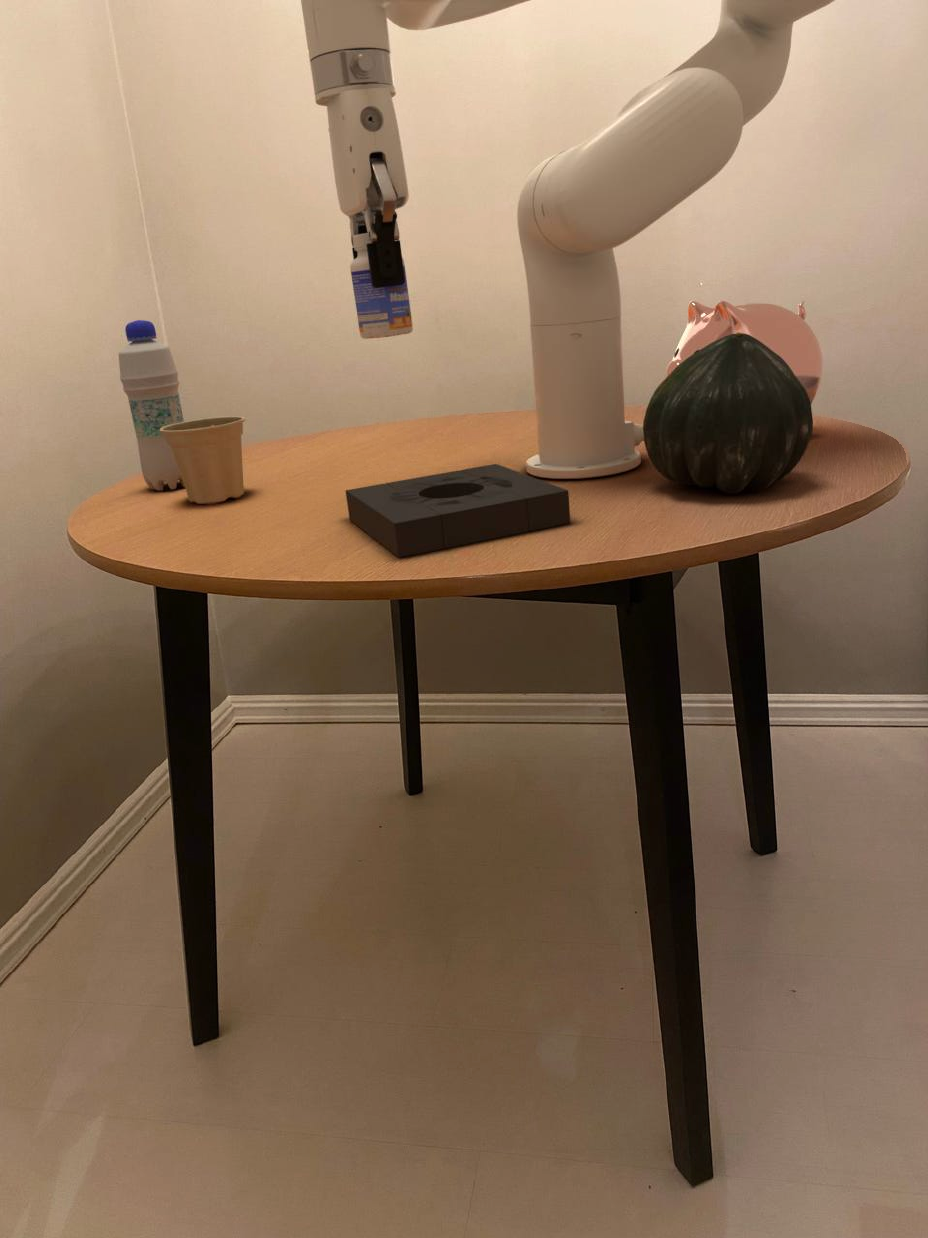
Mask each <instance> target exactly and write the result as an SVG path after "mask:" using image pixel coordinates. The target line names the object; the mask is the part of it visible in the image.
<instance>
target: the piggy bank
mask: <svg viewBox="0 0 928 1238" xmlns="http://www.w3.org/2000/svg"><path fill="white" fill-rule="evenodd" d="M804 303H805V301H804V300H802V302H798V303H797V307H798V313H797V312H795V311H793V310H791V309H790V308H788V307H786V306H783V305H781V304H776V303H771V302H753V303H750V302H749V303H742V304H732V303H730V302H728V301H725V300H719V301H718V302H717V303H716V304H715V306H714V307H711V306H706V305H704V304H702V303H701V302H698V301H695V300H691V301H689V303H688V305H687V324H686V327H685V330H684V332H683V334H682V336H681V338H680V340H679V342H678V345H677V347H676V349H675V351H674V355H673V357H672V359H671V361H670V362H669V363H668V365H667V368H666V371H665V378H666V377H667V376H668V375H670V374H671V372H672V371H673V370H674V369H675V368H676V367H677V366H678V365H680V364H681V363H682V362H683V361H684V360H686V359H687V358H689V357H690V356H691V355H693V354H694V353H696V352H698V351H699V350H701V349H702V348H704V347H706V346H707V345H709V344H710V343H712V342H714V341H716V340H718V339H720V338H723V337H725V336H728V335H731V334H736V333H744V334H748V335H751V336H752V337H754V338H756V339H757V340H759V341H760V342H762V343H763V344H764V345H766V346H767V347H768V348H770V349H771V350H772V351H773V352H775V353H776V354H777V355H779V356H780V357H781V358H782V359H783V360H784V361H785V362H786V363H787V364H788V365H789V367H790V368H791V370H792V371H793V373H794V374H795V376H796V377H797V378H798V380H799V381H800V382H801V384H802V385H803V387H804V388H805V389H806V391H807V394H808V396H809V399H810V402H811V406H812V404H813V402H814V400H815V398H816V395H817V392H818V390H819V387H820V384H821V381H822V380H821V379H822V376H823V354H822V349H821V345H820V343H819V340H818V337H817V336H816V334H815V333H814V331H813V329H812V328H811V326H810V325H809V324H808V322H806V317H807V316H806V315H807V314H806V313H807V312H806V309H805V306H804ZM812 436H813V434H812V435H811V437H812Z"/></svg>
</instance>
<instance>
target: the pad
mask: <svg viewBox="0 0 928 1238" xmlns="http://www.w3.org/2000/svg"><path fill="white" fill-rule="evenodd" d="M569 492H570V491H569V490H568V489H565V488H563V487H561V486H558V485H556V484H552V483H550V482H547V481H544V480H542V479H539V478H536V477H534V476H530V475H529V474H528V475H527V474H526V473H522V472H519V471H516V470H514V469H511V468H508V467H506V466H503V465H500V464H497V463H492V464H488V465H482V466H476V467H471V468H465V469H460V470H459V469H458V470H453V471H447V472H442V473H436V474H431V475H425V476H419V477H413V478H408V479H402V480H396V481H390V482H386V483H385V482H384V483H380V484H374V485H373V484H372V485H368V486H363V487H362V486H361V487H356V488H351V489H350V488H349V489H347V490H345V497H346V505H347V511H348V512H347V513H348V519H349V521H350V522H352V523H353V524H354V525H356V526H357V527H358V528H359V529H360V530H362V531H363V532H365V533H366V534H367V535H369V536H370V537H371V538H372V539H374V540H375V541H377V542H378V543H379V544H380V545H382V546H383V547H384V548H386V549H387V550H388V551H389V552H390V553H392V554H394V555H395V557H397V558H398V559H400V558H401V559H402V558H406V557H411V556H415V555H422V554H426V553H431V552H435V551H440V550H444V549H451V548H455V547H461V546H465V545H470V544H476V543H480V542H485V541H490V540H495V539H500V538H506V537H511V536H514V535H519V534H524V533H529V532H534V531H539V530H544V529H548V528H554V527H558V526H565V525H568V524H571V511H570V495H569V494H570V493H569Z"/></svg>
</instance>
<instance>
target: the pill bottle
mask: <svg viewBox="0 0 928 1238" xmlns="http://www.w3.org/2000/svg"><path fill="white" fill-rule="evenodd" d="M353 244H354V249H355V251H357V253H358V256H357V258H356V259H354V258H353V260H352V261H351V262H350V266H349V267H350V268H349V269H350V276H351V284H352V289H353V296H354V303H355V309H356V315H357V322H358V323H357V324H358V330H359V335H360V337H361V338H362V339H363V340H364V339H365V340H366V339H381V338H389V337H396V336H397V337H398V336H402V335H407V334H411V333H412V332H413V327H414V326H413V319H412V312H411V311H412V310H411V303H410V297H409V296H410V295H409V289H408V280H407V272H406V265H405V260H404V258H403V256H402V261H403V269H404V277H405V283H404V284H403V285H397V286H388V287H380V288H374V287H373V286H372V282H371V275H370V268H369V260H368V253H367V246H366V244H370V241H369V237H368V233H364V234H358V235H354V236H353Z"/></svg>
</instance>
